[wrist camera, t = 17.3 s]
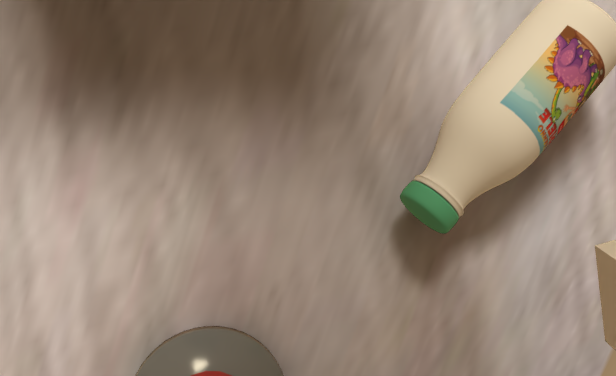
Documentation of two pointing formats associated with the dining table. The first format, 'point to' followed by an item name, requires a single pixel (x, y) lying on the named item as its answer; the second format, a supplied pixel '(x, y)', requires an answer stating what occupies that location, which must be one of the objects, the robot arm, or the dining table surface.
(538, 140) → the milk bottle
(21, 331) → the dining table surface
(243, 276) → the dining table surface
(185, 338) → the pad
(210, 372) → the beer can
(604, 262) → the robot arm
